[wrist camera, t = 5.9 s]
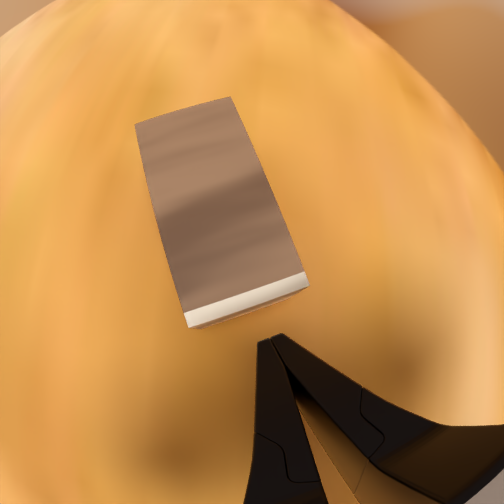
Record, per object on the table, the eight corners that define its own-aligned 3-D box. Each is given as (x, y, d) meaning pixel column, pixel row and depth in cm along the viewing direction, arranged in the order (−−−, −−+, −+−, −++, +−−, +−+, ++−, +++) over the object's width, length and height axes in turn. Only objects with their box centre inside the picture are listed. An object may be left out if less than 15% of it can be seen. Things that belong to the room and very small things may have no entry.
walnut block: (309, 285, 12) (230, 96, 14) (188, 327, 12) (134, 124, 14) (288, 298, 17) (230, 148, 19) (201, 329, 16) (154, 171, 19)
